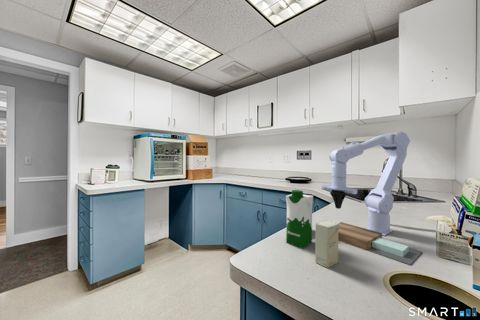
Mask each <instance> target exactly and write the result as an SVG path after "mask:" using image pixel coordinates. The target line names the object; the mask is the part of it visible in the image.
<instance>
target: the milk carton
mask: <svg viewBox="0 0 480 320" xmlns="http://www.w3.org/2000/svg"><path fill="white" fill-rule="evenodd" d="M285 201H286V235H285V236H286V240H285V241H286V243H287V244H290V245H293V246H295V247H298V248H302V249H305V248H306V247H307V246H309V245H310V244H312V241H313V204H314V195H310V194H304V191H303V190H298V189H294V190H291V194H288V195H285Z"/></svg>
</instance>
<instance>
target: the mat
mask: <svg viewBox="0 0 480 320" xmlns="http://www.w3.org/2000/svg"><path fill="white" fill-rule="evenodd" d="M369 252H370V253H373V254H376V255H379V256H382V257H384V258H388V259H390V260H394V261H396V262H399V263H403V264H406V265H408V266H411V265H412V264H413V263H414V262H415V261H416V260H417V259H418V258H419V257H420V255H421V254H423V250H417V249H414V248H412V247H409V252H408V253H407V254H406V255H405V256H404V257H401V256H398V255H395V254H392V253H389V252H386V251H383V250H380V249H377V248H374V247H372V248H371V249H370V250H369Z"/></svg>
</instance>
